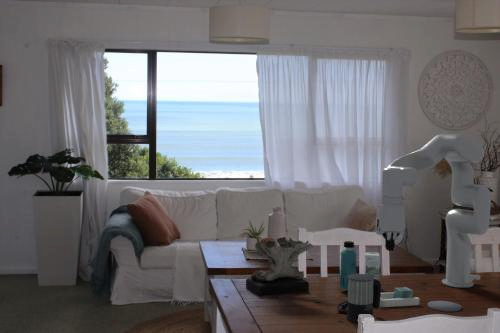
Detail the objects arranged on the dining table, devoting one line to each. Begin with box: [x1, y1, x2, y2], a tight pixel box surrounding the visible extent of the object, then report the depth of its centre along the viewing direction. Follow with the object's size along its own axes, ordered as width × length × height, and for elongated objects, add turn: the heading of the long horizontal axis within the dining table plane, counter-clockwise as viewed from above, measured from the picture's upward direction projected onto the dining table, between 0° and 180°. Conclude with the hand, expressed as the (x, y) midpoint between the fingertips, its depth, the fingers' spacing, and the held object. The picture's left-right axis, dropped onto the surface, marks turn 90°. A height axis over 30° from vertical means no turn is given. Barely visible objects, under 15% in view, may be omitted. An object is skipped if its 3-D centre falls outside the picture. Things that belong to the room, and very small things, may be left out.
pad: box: [427, 300, 462, 313], centre depth 239 cm, size 12×12×1 cm
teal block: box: [393, 286, 414, 299], centre depth 245 cm, size 5×5×5 cm
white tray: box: [379, 291, 421, 308], centre depth 244 cm, size 16×10×2 cm, turn 104°
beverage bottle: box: [338, 240, 358, 291], centre depth 258 cm, size 6×7×20 cm
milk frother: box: [336, 273, 382, 323], centre depth 226 cm, size 14×16×15 cm
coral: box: [245, 236, 314, 297], centre depth 257 cm, size 25×20×22 cm
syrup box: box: [363, 251, 381, 281], centre depth 263 cm, size 6×6×14 cm
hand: (389, 250), depth 242 cm, fingers closed
